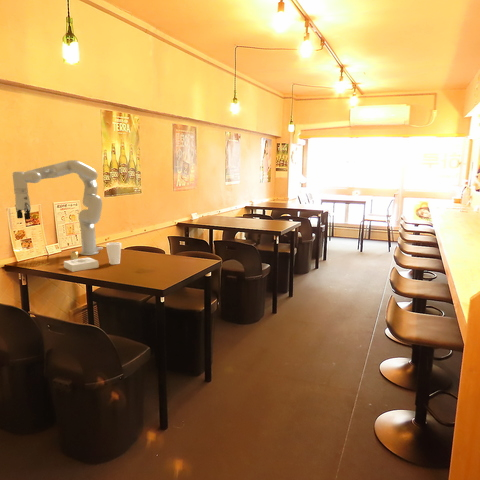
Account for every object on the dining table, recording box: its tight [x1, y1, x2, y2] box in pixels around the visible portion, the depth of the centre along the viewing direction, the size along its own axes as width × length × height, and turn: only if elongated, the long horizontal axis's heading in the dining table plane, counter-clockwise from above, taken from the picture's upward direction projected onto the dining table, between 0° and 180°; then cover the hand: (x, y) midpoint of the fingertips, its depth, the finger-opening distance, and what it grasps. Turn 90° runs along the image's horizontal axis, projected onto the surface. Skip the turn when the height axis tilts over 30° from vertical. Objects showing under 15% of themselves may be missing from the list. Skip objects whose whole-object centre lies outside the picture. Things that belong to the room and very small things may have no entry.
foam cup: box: [105, 241, 122, 265], centre depth 260 cm, size 10×9×13 cm
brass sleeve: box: [70, 250, 79, 260], centre depth 263 cm, size 4×4×7 cm
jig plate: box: [63, 256, 100, 272], centre depth 251 cm, size 16×14×4 cm
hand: (23, 218), depth 256 cm, fingers open, 9 cm apart
